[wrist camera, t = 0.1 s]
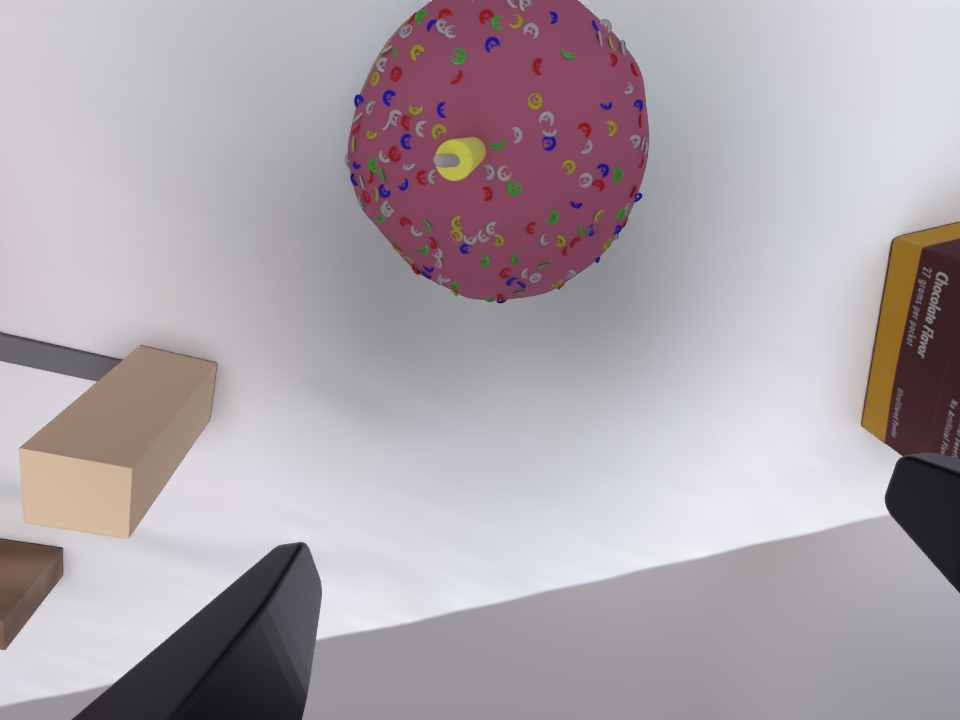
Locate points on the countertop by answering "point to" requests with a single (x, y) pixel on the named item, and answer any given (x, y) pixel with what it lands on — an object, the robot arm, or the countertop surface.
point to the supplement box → (919, 347)
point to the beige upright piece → (110, 435)
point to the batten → (24, 583)
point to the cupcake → (500, 143)
